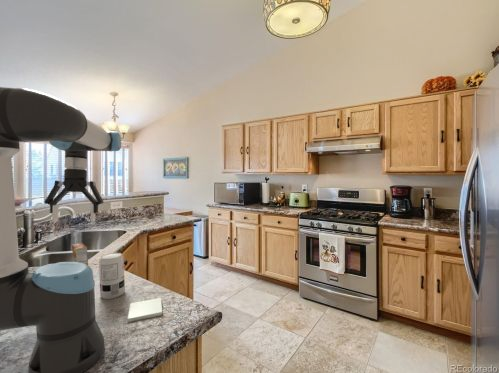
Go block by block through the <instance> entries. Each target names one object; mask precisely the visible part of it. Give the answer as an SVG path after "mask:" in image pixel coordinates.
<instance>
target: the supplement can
mask: <svg viewBox="0 0 499 373" xmlns="http://www.w3.org/2000/svg"><path fill="white" fill-rule="evenodd" d="M98 271H99V272H98V274H99V292H100V293H99V295H100V298H102V299H103V300H111V299H116V298H118V297H120V296H122V295H124V293H125V291H126V289H125V288H126V287H125V286H126V285H125V284H126V282H125V259H124V256H123V254H122V253H121V252H113V253H111V252H110V253H107V254H103V255H101V256H100V259H99V260H98Z"/></svg>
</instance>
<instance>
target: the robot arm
mask: <svg viewBox="0 0 499 373" xmlns="http://www.w3.org/2000/svg"><path fill="white" fill-rule="evenodd" d="M86 117H87V116H86V115H85V114H84V113H83V112H82V111H81V110H80V109H78V108H77V107H76V106H74V105H73V104H70V103H68V102H66V101H64V100H62V99H60V98H57V97H55V96H53V95H50V94H47V93H44V92H41V91H38V90H34V89H29V88H23V87H5V86H3V87H2V86H0V331H5V330H11V329H12V330H13V329H19V328H25V327H32V326H35V331H36V340H35V343H34V347H33V349H32V352H31V355H30V358H29V362H28V366H27V372H28V373H84V372H86V371H87V370H88V369H89V370H90V368H91V367H93V366H94V365H96V363H97V362H98V361H100V359H101V358H102V357H103V355H104V353H105V351H106V344H105V342H106V341H105V337H104V335H103V332H102V330H101V329H100V326H99V325H98V323H97V320H96V299H95V286H96V284H95V283H96V282H95V278H94V272H93V269H92V267H91V266H90V265H89V264H88V265H86V264H84V263H79V262H73V261H59V262H56V263H49V264H44V265H41V266H39V267H37V268H36V269H35V270H33V272H31V273H30V272H29V263H28V262H27V261H25V260H24V259H22V258H20V255H19V254H20V253H19V239H18V229H17V228H18V227H17V226H18V225H17V213H16V202H15V201H16V200H15V199H16V198H15V187H14V173H13V162H12V161H13V160H12V158H13V157H14V156H15V155H16V154H18V153H19V152H20V150H21V148H20V143H31V142H32V143H35V142H36V143H37V142H49V144H50V145H51V146H53V147H54V148H56V150H59V151H64V168H65V169H64V172H63V173H64V174H63V178H64V180H55V181H54V185H53V187H52V189H51V190H50V192H49V193H48V195H47V197H46V198H45V200H44V204H47V205H49V214H52V216H51V217H52V218H51V222H52V223H56V222H58V221H59V206H60V205H57V204H58V203H59V202H60V201H61V200H62V199H63V198H64V197H65V196H66V195H67V194H68V193H82V194H83V196H85V197H86V199H88V200H89V202H90V203H91V204H92V205H90V222H91V223H92V222H95V221H96V214H97V213H98V212H99V205H102V204H104V200H103V198H102V196H101V194H100V192H99V190H98V189H97V187H96V186H97V185H96V182H95V181H94V180H93V181H92V180H90V181H87V179H88V178H87V177H88V171H87V169H88V152H93V151H94V152H119V151H120V150H121V148H122V136H121V134H120V133H119V132H118V131H113V130H105V129H103V128H102V127H100V126H98V125H97V124H95V123H94V122H92V121H91V120H89V119H87V118H86ZM62 186H64V187H63V189H62V190H61V191H60V188H61V187H62ZM87 186H88V187H90V190H91V192H92V194H93V195H91V193H90V192H89V190H88V189H87V188H86V187H87ZM59 191H60V192H59Z"/></svg>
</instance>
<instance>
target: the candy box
mask: <svg viewBox="0 0 499 373" xmlns="http://www.w3.org/2000/svg"><path fill="white" fill-rule="evenodd" d="M71 251H72V252H71V253H72V262H79V263H84V264H86V265H88V266H89V259H88V258H89V256H88V247H87V246H86V245H85V244H84V243H83V242H79V243H74V244H71Z"/></svg>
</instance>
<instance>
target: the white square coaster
mask: <svg viewBox="0 0 499 373" xmlns="http://www.w3.org/2000/svg"><path fill="white" fill-rule="evenodd" d="M162 303H163V302H162V297H159V298H158V297H157V298H152V299H146V300H142V301H137V302H130V304H129V309H128V315H127V322H134V321H140V320H145V319H149V318H150V319H151V318H154V317H159V316H162V315H163V307H162V306H163V304H162Z"/></svg>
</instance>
